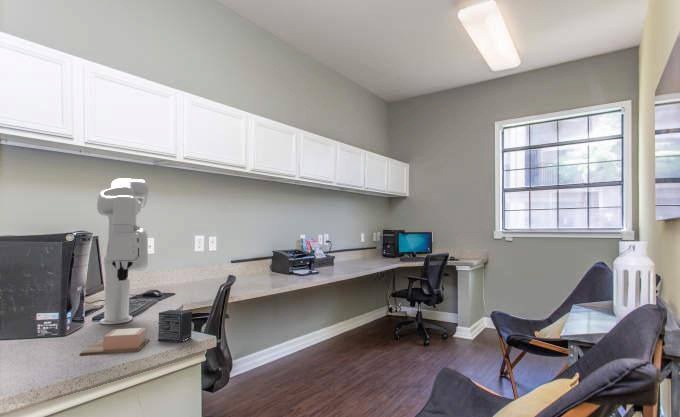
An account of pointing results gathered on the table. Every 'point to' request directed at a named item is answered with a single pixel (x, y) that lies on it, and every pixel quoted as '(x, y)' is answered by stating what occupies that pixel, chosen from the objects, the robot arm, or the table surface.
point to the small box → (174, 325)
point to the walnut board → (98, 349)
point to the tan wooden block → (124, 338)
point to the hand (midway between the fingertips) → (122, 279)
